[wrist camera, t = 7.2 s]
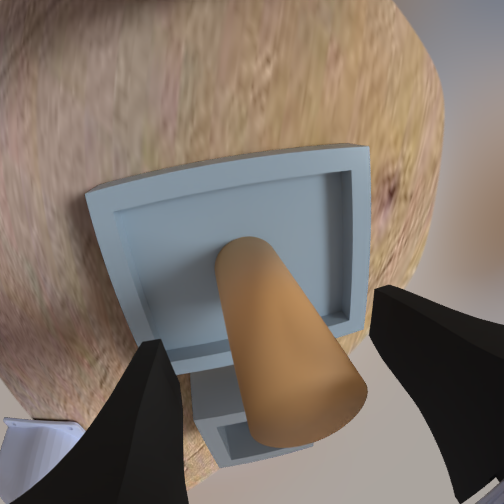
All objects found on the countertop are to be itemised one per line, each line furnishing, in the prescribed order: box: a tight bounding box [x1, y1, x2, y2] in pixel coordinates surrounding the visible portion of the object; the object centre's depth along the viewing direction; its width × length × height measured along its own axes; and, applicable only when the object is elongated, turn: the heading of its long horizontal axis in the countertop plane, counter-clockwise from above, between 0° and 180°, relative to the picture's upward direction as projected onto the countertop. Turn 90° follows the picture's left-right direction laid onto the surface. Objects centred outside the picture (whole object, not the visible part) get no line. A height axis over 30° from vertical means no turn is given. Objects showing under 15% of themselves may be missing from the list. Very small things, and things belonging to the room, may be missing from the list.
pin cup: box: [190, 364, 313, 468], centre depth 17 cm, size 7×7×4 cm
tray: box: [85, 143, 371, 375], centre depth 14 cm, size 12×10×2 cm
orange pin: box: [214, 236, 368, 448], centre depth 10 cm, size 3×3×8 cm
